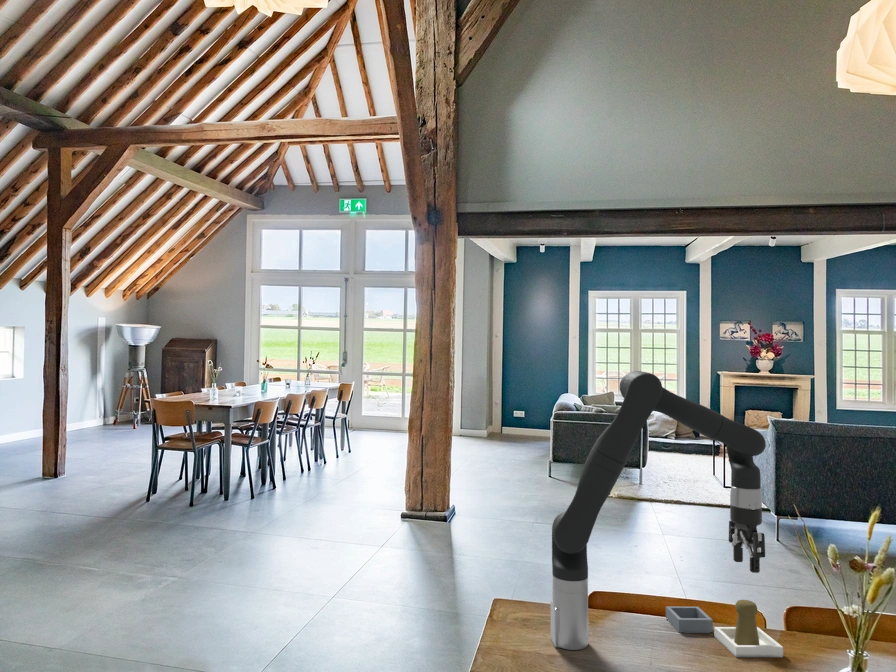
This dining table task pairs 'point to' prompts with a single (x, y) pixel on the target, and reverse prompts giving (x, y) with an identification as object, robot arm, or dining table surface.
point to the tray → (764, 649)
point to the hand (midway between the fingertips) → (746, 566)
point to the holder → (689, 619)
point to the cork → (746, 623)
